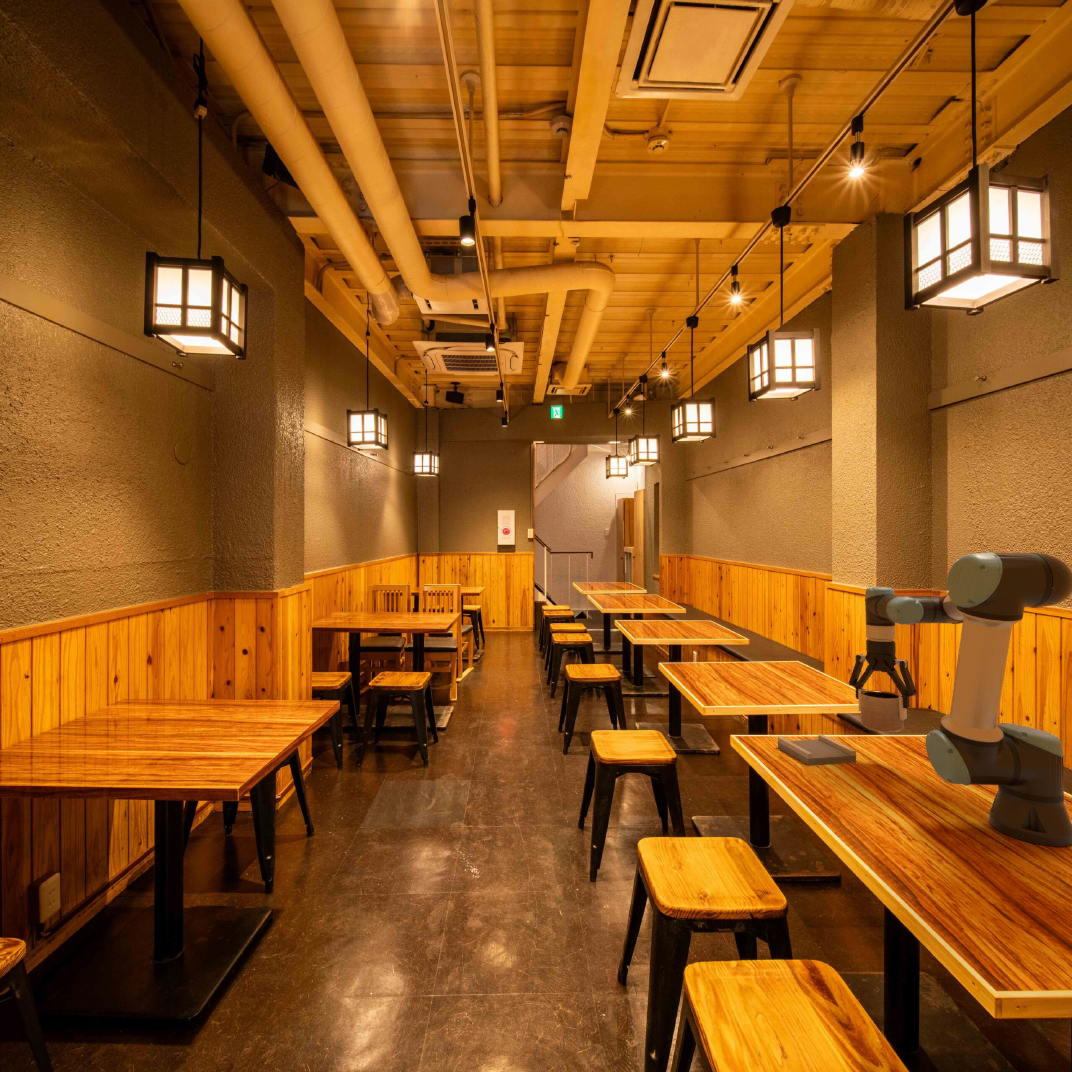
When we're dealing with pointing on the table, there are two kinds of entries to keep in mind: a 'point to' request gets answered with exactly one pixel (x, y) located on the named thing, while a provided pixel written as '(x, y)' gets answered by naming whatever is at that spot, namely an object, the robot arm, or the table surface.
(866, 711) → the planter
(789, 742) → the grey square tray
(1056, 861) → the table surface
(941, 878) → the table surface
